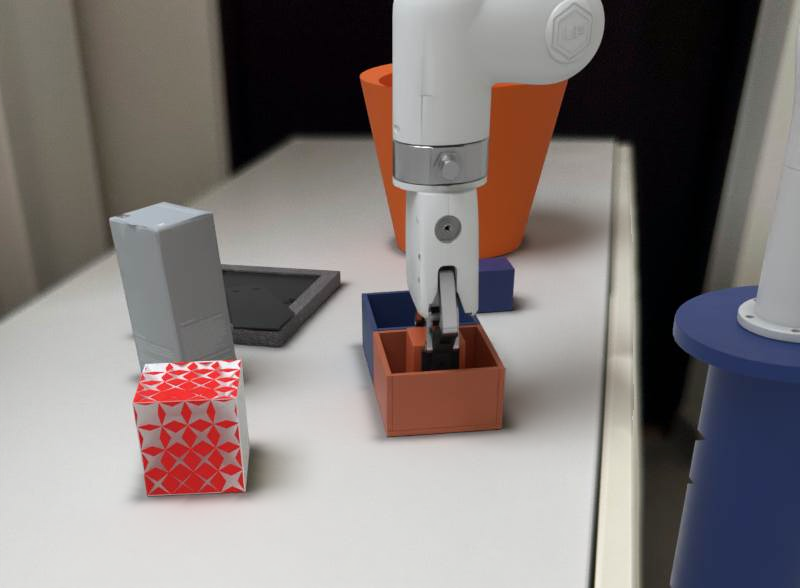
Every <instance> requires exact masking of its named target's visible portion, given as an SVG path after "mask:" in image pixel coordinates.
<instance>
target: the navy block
mask: <svg viewBox="0 0 800 588" xmlns="http://www.w3.org/2000/svg"><path fill="white" fill-rule="evenodd" d="M515 273H516V269H515V267H514V266H513V264H512V263H511V261H510V260H509V259H508V258H507V256H502V257H501V256H500V257H499V256H498V257H491V258H483V259H479V284H478V311H477V312H476V314H477V313H478V314H479V313H493V312H510V311H513V307H514V306H513V305H514V304H513V303H514V291H515V290H514V289H515Z"/></svg>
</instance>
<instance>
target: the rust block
mask: <svg viewBox="0 0 800 588" xmlns="http://www.w3.org/2000/svg"><path fill="white" fill-rule="evenodd" d="M435 327H439V326H433V331H434V329H435ZM423 349H425V327H412V328H407V329H406V373H410V372H421V350H423ZM459 349H460V355H459V369H464V367H465V341H464V339H463V337H462V335H461V333H460V331H459Z"/></svg>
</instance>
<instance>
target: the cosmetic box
mask: <svg viewBox="0 0 800 588" xmlns="http://www.w3.org/2000/svg"><path fill="white" fill-rule="evenodd" d="M108 221H109V222H108V223H109V227H110V231H111V236H112V241H113V245H114V249H115V254H116V259H117V264H118V269H119V274H120V277H121V282H122V287H123V291H124V297H125V302H126V307H127V311H128V315H129V321H130V326H131V330H132V335H133V340H134V344H135V345H134V346H135V350H136V355H137V358H138V359H137V360H138V363H139V369H140V373H141V375H142V372H143V369H144V366H145V364H156V363H177V362H199V361H220V360H237V356H236V350H235V344H234V343H233V337H232V331H231V324H230V318H229V312H228V306H227V299H226V293H225V287H224V281H223V274H222V268H221V264H222V263H221V256H220V250H219V244H218V239H217V238H218V237H217V231H216V224H215V218H214V212H212V211H207V210H202V209H199V208H193V207H188V206H184V205H180V204H175V203H170V202H167V201H162V202H159V203H154V204H152V205H151V204H150V205H149V206H145V207H142V208H138V209H135V210H132V211H128V212H124V213H121V214H118V215H115V216H111V217H109V218H108Z"/></svg>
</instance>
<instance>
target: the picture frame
mask: <svg viewBox="0 0 800 588" xmlns="http://www.w3.org/2000/svg"><path fill="white" fill-rule="evenodd" d="M221 268H222V274H223V281H224V287H225V293H226V299H227V306H228V312H229V318H230V324H231V331H232V337H233V343H234V345H235V344H236V345H245V346H246V345H247V346H258V347H272V348H280V347H281V346H282V345H283V344H284V343H285V342H286V341H287V340H288V339H289V338H290V337H291V336H292V335H293V334H294V333H295V332H296V331H297V330H298V329H299V328H300V327H301V326H302V325H303V324H304V323H305V322H306V321H307V320H308V318H309V317H311V316H312V314H314V312H316V310H317V309H319V307H320V306H321V305H322V304H323V303H325V301H326V300H327V299H328V298H329V297H330V296H331V295H332V294H333V293H334V292H335V291H336V290H337V289H338V288H339V287H340V286H341V285H342V282H341V271H340V270H328V269H314V268H313V269H311V268H297V267H296V268H293V267H277V266H261V265H259V266H258V265H244V264H225V263H221Z"/></svg>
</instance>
